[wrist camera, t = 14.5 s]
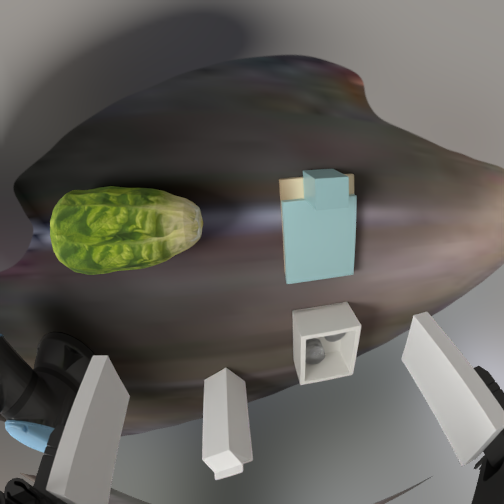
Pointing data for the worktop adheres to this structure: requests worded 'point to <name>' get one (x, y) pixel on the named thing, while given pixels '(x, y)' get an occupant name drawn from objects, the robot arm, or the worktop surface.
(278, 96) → the worktop surface
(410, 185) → the worktop surface
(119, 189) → the lettuce
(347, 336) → the tub
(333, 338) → the part
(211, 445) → the milk
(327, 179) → the lid
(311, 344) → the part
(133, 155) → the worktop surface
